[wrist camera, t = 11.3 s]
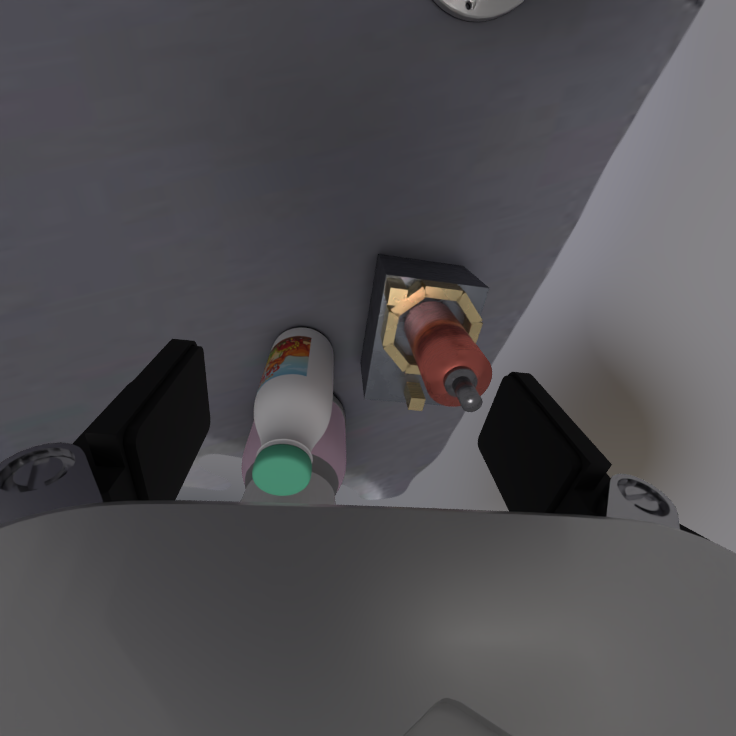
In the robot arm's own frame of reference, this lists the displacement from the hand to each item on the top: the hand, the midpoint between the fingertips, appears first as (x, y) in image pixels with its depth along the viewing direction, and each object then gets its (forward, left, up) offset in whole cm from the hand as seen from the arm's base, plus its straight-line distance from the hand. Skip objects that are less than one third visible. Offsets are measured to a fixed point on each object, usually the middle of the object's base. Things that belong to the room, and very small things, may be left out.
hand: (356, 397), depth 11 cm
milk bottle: (+15, -3, -30) cm, 34 cm away
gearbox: (+9, +9, -30) cm, 33 cm away
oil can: (+6, +9, -22) cm, 25 cm away
